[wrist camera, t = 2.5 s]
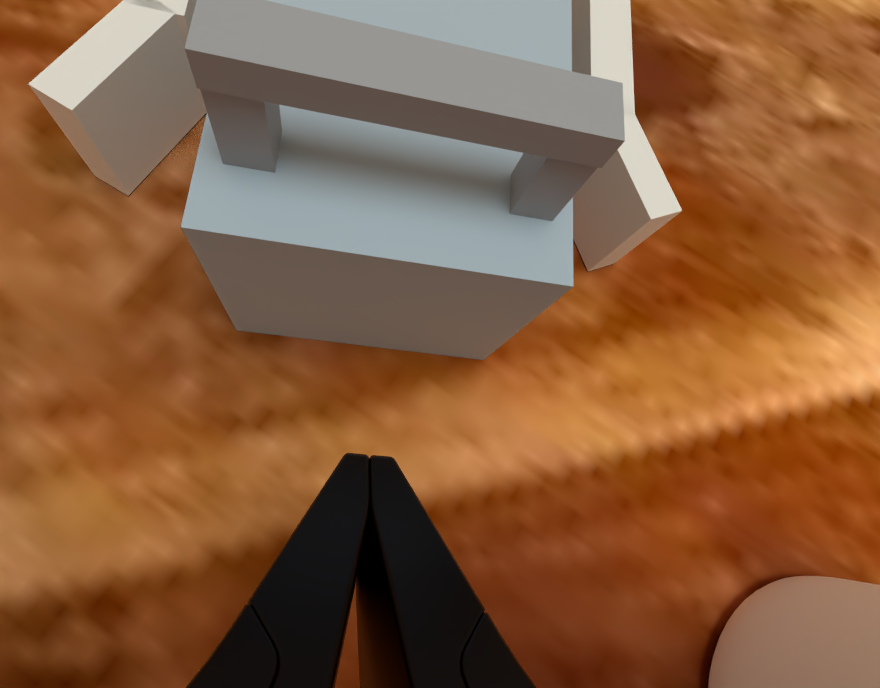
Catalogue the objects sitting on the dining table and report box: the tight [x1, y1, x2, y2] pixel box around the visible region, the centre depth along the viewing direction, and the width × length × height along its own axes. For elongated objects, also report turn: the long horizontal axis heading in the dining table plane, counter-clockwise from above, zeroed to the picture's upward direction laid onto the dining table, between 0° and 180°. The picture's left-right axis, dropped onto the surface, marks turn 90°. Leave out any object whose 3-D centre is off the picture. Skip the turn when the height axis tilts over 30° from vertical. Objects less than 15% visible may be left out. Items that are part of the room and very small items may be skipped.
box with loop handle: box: [181, 0, 625, 360], centre depth 15 cm, size 15×8×10 cm, turn 176°
